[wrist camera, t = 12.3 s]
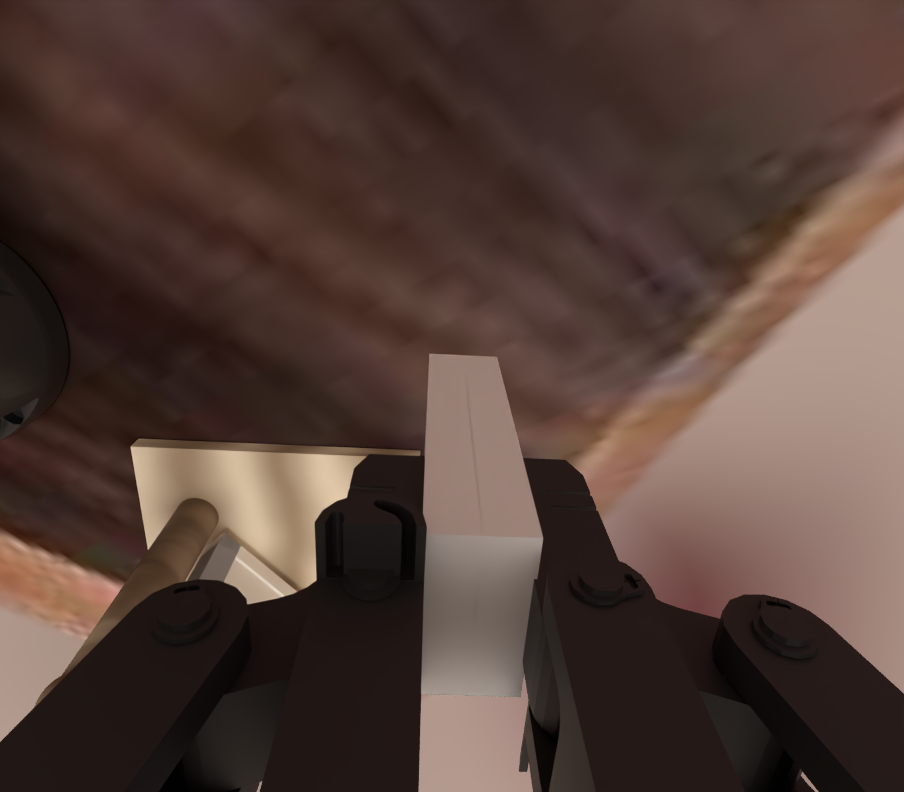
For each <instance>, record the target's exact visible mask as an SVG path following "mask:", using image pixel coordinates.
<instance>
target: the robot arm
mask: <svg viewBox="0 0 904 792" xmlns="http://www.w3.org/2000/svg"><path fill="white" fill-rule="evenodd" d="M68 360H69V351H68V342H67V336H66V331H65V327H64V324H63V321H62V318H61V316H60V313H59V311H58V309H57V307H56V305H55V302H54V301H53V299H52V297H51V295H50V294H49V292H48V291H47V289H46V287H45V286H44V285H43V283H42V282H41V281H40V279H39V278H38V277H37V275H36V274H35V273H34V272H33V271H32V270H31V268H30V267H29V266H28V265H27V264H26V263H25V262H24V261H23V260H22V259H21V258H20V257H19V256H18V255H16V254H15V253H14V252H13V251H12V250H10V249H9V248H8V247H7V246H5V245H4V244H3V243H1V242H0V440H3V439H5V438H7V437H9V436H11V435H13V434H15V433H17V432H18V431H20V430H21V429H23V428H24V427H25V426H27V425H28V424H30V423H31V422H32V421H34V420H35V419H37V418H38V417H39V416H41V415H42V414H43V413H44V412H45V411H47V409H48V408H49V407H50V406H51V405H52V404H53V403H54V401H55V400H56V398H57V397H58V395H59V393H60V391H61V389H62V387H63V385H64V382H65V378H66V375H67V369H68ZM314 523H315V550H316V577H317V579H316V581H315V582H313V583H312V584H311V585H309V586H308V587H306V588H304V589H302V590H300V591H298V592H296V593H294V594H291V595H287V596H284V597H280V598H277V599H272V600H267V601H262V602H257V603H252V604H247V599H246V598H245V597H244V595H243V594H242V593H241V592H240V591H239V590H238V589H237V587H235V586H232V585H230V584H227V583H225V582H222V581H220V580H205V579H196V580H191V581H185V582H180V583H175V584H172V585H170V586H168V587H165V588H163V589H161V590H159V591H156V592H154V593H152V594H151V595H149V596H148V597H147V598H145V599H144V600H143V601H141V602H140V603H139V604H137V605H136V606H135V607H134V608H133V609H132V610H131V611H130V612H129V613H128V614H127V615H126V616H125V617H124V618H123V619H122V620H121V621H120V622H119V623H118V624H117V625H116V626H115V627H114V628H113V629H112V630H111V631H110V632H109V633H108V634H107V635H106V636H105V637H104V638H103V639H102V640H101V641H100V642H99V643H98V644H97V645H96V646H95V647H94V648H93V649H92V650H91V651H90V652H89V653H88V654H87V655H86V656H85V657H84V658H83V659H82V660H81V661H80V662H79V663H78V664H77V665H76V666H75V667H74V668H73V669H72V670H71V671H70V672H69V673H68V674H67V675H66V676H65V677H64V678H63V679H62V680H61V681H60V682H59V683H58V684H57V685H56V686H55V687H54V688H53V689H52V690H51V691H50V692H49V693H48V694H47V695H46V696H45V697H44V698H43V699H42V700H41V701H40V702H39V703H38V704H37V705H36V706H35V707H34V708H33V710H32V711H31V712H30V713H29V714H28V715H27V716H26V717H25V718H24V719H23V720H22V721H21V722H20V723H19V724H18V725H17V726H16V727H15V728H14V729H13V730H12V731H11V732H10V733H9V734H8V735H7V736H6V737H5V738H4V739H3V740H2V741H1V742H0V792H256V791H257V789H258V786H259V783H260V782H261V781H262V785H261V789H260V792H418V785H419V750H420V713H421V694H424V695H466V696H504V697H520V696H521V690H522V683H523V676H524V674H525V680H526V686H527V693H528V699H529V701H528V708H527V715H526V721H525V728H524V734H523V741H522V747H521V754H520V765H519V771H520V772H527V769H528V763H529V764H530V772H531V780H532V787H533V792H815V791H814V790H813V789H812V788H811V787H810V786H809V785H808V784H807V783H806V782H805V780H804V779H803V778H802V777H801V773H802V771H803V773H804V774H805V775H806V776H807V778H808V779H809V780H810V781H811V783H812V784H813V785H814V786H815V788H816V789H817V790H818V791H819V792H904V694H903V693H902V692H901V691H900V690H899V689H898V688H897V687H896V686H895V685H894V684H893V683H891V682H890V681H889V680H888V679H887V678H886V677H885V676H884V675H883V674H881V672H879V671H878V670H877V669H876V668H875V667H874V666H873V665H872V664H871V663H870V662H869V661H867V660H866V659H865V658H864V657H863V656H862V655H861V654H859V652H857V651H856V650H855V649H854V648H853V647H852V646H851V645H850V644H849V643H848V642H847V641H846V640H844V639H843V638H842V637H841V636H840V635H839V634H838V633H837V632H836V631H835V630H833V629H832V628H831V627H830V626H829V625H828V624H826V623H825V622H824V621H822V620H821V619H820V618H818V617H817V616H816V615H814V614H813V613H811V612H810V611H808V610H806V609H804V608H802V607H800V606H798V605H796V604H793V603H791V602H789V601H787V600H783V599H779V598H775V597H771V596H767V595H742V596H740V597H737V598H734V599H732V600H730V601H729V602H728V604H727V605H726V607H725V608H724V610H723V611H722V615H721V618H720V619H718V618H715V617H711V616H707V615H703V614H699V613H695V612H692V611H688V610H684V609H680V608H677V607H674V606H672V605H668V604H666V603H663V602H661V601H659V600H657V599H656V597H655V595H654V593H653V591H652V589H651V587H650V586H649V584H648V583H647V582H646V580H645V579H644V578H643V577H642V575H641V574H639V573H638V572H637V571H635V570H634V569H632V568H631V567H630V566H628V565H627V564H625V563H623V562H620V561H618V558H617V556H616V553H615V551H614V549H613V546H612V544H611V541H610V539H609V537H608V534H607V532H606V529H605V527H604V525H603V522H602V520H601V517H600V515H599V513H598V511H596V505H595V503H594V501H593V498H592V496H590V491H589V489H588V486H587V484H586V481H585V479H584V477H583V475H582V474H581V473H580V472H579V471H577V470H576V469H575V468H574V467H573V466H572V465H571V464H569V463H568V462H567V461H566V460H555V459H531V458H523V457H522V453H521V449H520V445H519V441H518V438H517V434H516V430H515V426H514V422H513V418H512V414H511V410H510V406H509V402H508V399H507V395H506V391H505V387H504V383H503V379H502V375H501V371H500V367H499V363H498V359H497V357H487V356H466V355H446V354H429V373H428V395H427V416H426V438H425V456H409V455H385V454H369V455H368V456H367V457H366V458H364V459H363V460H362V461H361V462H360V463H359V464H358V465H357V466H356V467H355V468H354V471H353V475H352V479H351V483H350V489H349V491H348V495H347V498H345V499H341V500H338V501H336V502H334V503H333V504H331V505H330V506H328V507H327V508H325V509H324V510H322V512H321V513H320V515H319V516H318V518H317V519H316V521H315V522H314Z"/></svg>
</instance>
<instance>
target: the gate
mask: <svg viewBox="0 0 904 792" xmlns="http://www.w3.org/2000/svg"><path fill="white" fill-rule="evenodd" d="M196 579H205V580H220V581H222V582H225V583H227V584H230V585H232V586H235V587H237V589H238V590H239V591H240V592H241V593H242V594H243V595H244V597H245V598H246V599H247V604H252V603H257V602H262V601H267V600H272V599H277V598H280V597H284V596H287V595H291V594H294V593H296V592H297V591H296V590H295V589H293V588H292V587H291V586H290V585H288V584H287V583H286V582H285V581H284V580H282V579H281V578H280V577H279V576H277V575H276V574H275V573H274V572H273V571H271V570H270V569H269V568H268V567H267V566H265V565H264V564H263V563H262V562H260V561H259V560H258V559H257V558H256V557H254V556H253V555H252V554H251V553H250V552H248V551H247V550H246V549H245V548H243V547H242V546H241V545H240V544H239V543H237V542H236V541H235V540H234V539H232V538H231V537H230V536H229V535H228V534H226V533H225V532H224V533H222V534H221V535H220V536H219V537H217V538H216V539H215V540H214V541H212V542H211V543H210V544H209V545H207V546H206V547H205V549H204V551H203V553H202V555H201V556H200V558H199V560H198V562H197V564H196V565H195V567H194V569H193V571H192V573H191V574H190V576H189V578H188V580H187V581H191V580H196Z"/></svg>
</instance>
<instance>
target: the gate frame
mask: <svg viewBox="0 0 904 792" xmlns="http://www.w3.org/2000/svg"><path fill="white" fill-rule="evenodd" d="M131 452H132V458H133V464H134V470H135V476H136V482H137V488H138V494H139V499H140V505H141V511H142V517H143V523H144V529H145V535H146V541H147V546H148V551H147V553H146V554H145V555H144V557H143V558H142V560H141V561H140V563H139V564H138V566H137V567H136V568H135V570H134V571H133V573H132V574H131V576H130V577H129V579H128V580H127V582H126V583H125V584H124V586H123V587H122V589H121V590H120V592H119V593H118V595H117V596H116V598H115V599H114V600H113V602H112V603H111V605H110V606H109V608H108V609H107V611H106V612H105V613H104V615H103V616H102V618H101V619H100V621H99V622H98V624H97V625H96V627H95V628H94V629H93V631H92V632H91V634H90V635H89V637H88V638H87V640H86V641H85V643H84V644H83V645H82V647H81V648H80V650H79V651H78V653H77V654H76V656H75V657H74V659H73V660H72V661H71V663H70V664H69V666H68V667H67V669H66V670H65V672H64V673H63V674H62V676H60V677H59V678H57V679H56V680H54V681H53V682H52V683H51V684H50V685H48V687H46V689H45V690H44V691H43V692H42V694H41V695H40V697H39V698H38V700H37V702H36V705H37V704H38V703H39V702H40V701H41V700H42V699H43V698H44V697H45V696H46V695H47V694H48V693H49V692H50V691H51V690H52V689H53V688H54V687H55V686H56V685H57V684H58V683H59V682H60V681H61V680H62V679H63V678H64V677H65V676H66V675H67V674H68V673H69V672H70V671H71V670H72V669H73V668H74V667H75V666H76V665H77V664H78V663H79V662H80V661H81V660H82V659H83V658H84V657H85V656H86V655H87V654H88V653H89V652H90V651H91V650H92V649H93V648H94V647H95V646H96V645H97V644H98V643H99V642H100V641H101V640H102V639H103V638H104V637H105V636H106V635H107V634H108V633H109V632H110V631H111V630H112V629H113V628H114V627H115V626H116V625H117V624H118V623H119V622H120V621H121V620H122V619H123V618H124V617H125V616H126V615H127V614H128V613H129V612H130V611H131V610H132V609H133V608H134V607H135V606H136V605H137V604H139V603H140V602H141V601H143V600H144V599H145V598H147V597H148V596H149V595H151V594H152V593H154V592H156V591H159V590H161V589H163V588H165V587H168V586H170V585H172V584H175V583H180V582H185V581H187V580H188V578H189V576H190V574H191V573H192V571H193V569H194V567H195V565H196V564H197V562H198V560H199V558H200V556H201V555H202V553H203V551H204V549H205V547H206V546H207V545H209V544H210V543H211V542H212V541H214V540H215V539H216V538H217V537H219V536H220V535H221V534H222V533H224V532H225V533H226V534H228V535H229V536H230V537H231V538H232V539H234V540H235V541H236V542H237V543H239V544H240V545H241V546H242V547H243V548H245V549H246V550H247V551H248V552H250V553H251V554H252V555H253V556H254V557H256V558H257V559H258V560H259V561H260V562H262V563H263V564H264V565H265V566H267V567H268V568H269V569H270V570H271V571H273V572H274V573H275V574H276V575H277V576H279V577H280V578H281V579H282V580H284V581H285V582H286V583H287V584H288V585H290V586H291V587H292V588H293V589H295V590H296V591H297V592H298V591H300V590H302V589H304V588H306V587H308V586H309V585H311V584H312V583H313V582H315V581H316V579H317V577H316V550H315V523H314V522H315V521H316V519H317V518H318V516H319V515H320V513H321V512H322V510H324V509H325V508H327V507H328V506H330V505H331V504H333V503H334V502H336V501H338V500H341V499H345V498H347V495H348V491H349V489H350V483H351V479H352V475H353V471H354V468H355V467H356V466H357V465H358V464H359V463H360V462H361V461H362V460H363V459H364V458H366V457H367V456H368V455H369V454H385V455H409V456H420V450H397V449H374V448H350V447H326V446H303V445H279V444H255V443H231V442H208V441H184V440H160V439H137V440H136V441H135V443H134V444H133V445H132V446H131ZM36 705H35V706H36Z"/></svg>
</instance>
